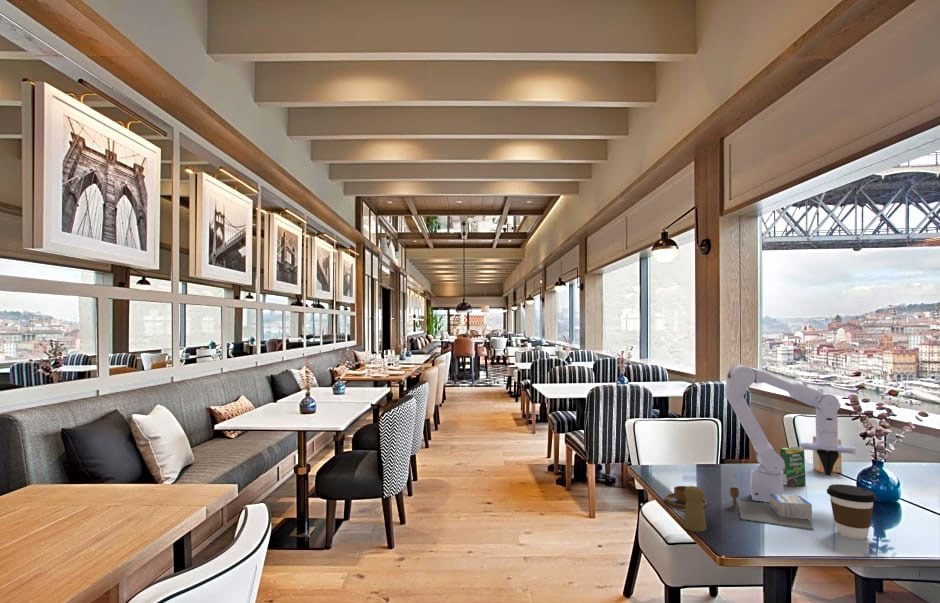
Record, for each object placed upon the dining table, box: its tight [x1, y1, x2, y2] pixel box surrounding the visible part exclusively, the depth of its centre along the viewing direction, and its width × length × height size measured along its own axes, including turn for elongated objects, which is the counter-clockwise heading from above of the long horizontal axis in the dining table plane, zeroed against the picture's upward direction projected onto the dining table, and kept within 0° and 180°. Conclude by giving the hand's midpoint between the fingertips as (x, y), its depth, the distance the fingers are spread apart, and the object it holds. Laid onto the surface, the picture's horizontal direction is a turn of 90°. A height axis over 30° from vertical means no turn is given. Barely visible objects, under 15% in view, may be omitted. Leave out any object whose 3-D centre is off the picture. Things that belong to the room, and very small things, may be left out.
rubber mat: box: [736, 499, 814, 531], centre depth 153 cm, size 18×17×1 cm
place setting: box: [665, 485, 740, 513], centre depth 161 cm, size 18×20×6 cm
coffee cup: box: [826, 483, 877, 541], centre depth 139 cm, size 11×11×12 cm
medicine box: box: [769, 494, 813, 520], centre depth 153 cm, size 8×4×9 cm
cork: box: [682, 485, 707, 533], centre depth 143 cm, size 6×6×11 cm
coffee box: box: [779, 446, 807, 488], centre depth 182 cm, size 8×3×13 cm, turn 101°
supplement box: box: [812, 435, 843, 474], centre depth 200 cm, size 8×5×13 cm, turn 81°
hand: (827, 474), depth 162 cm, fingers closed
